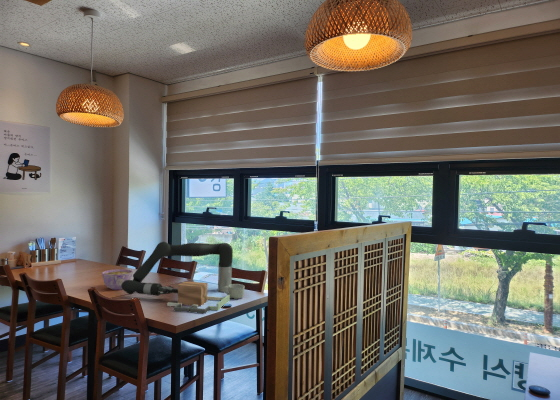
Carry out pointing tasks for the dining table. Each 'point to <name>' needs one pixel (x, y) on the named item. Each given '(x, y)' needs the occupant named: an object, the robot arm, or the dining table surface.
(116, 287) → the bowl of food
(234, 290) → the teacup
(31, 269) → the dining table surface
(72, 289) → the dining table surface
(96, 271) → the dining table surface
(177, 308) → the lane
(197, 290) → the block
